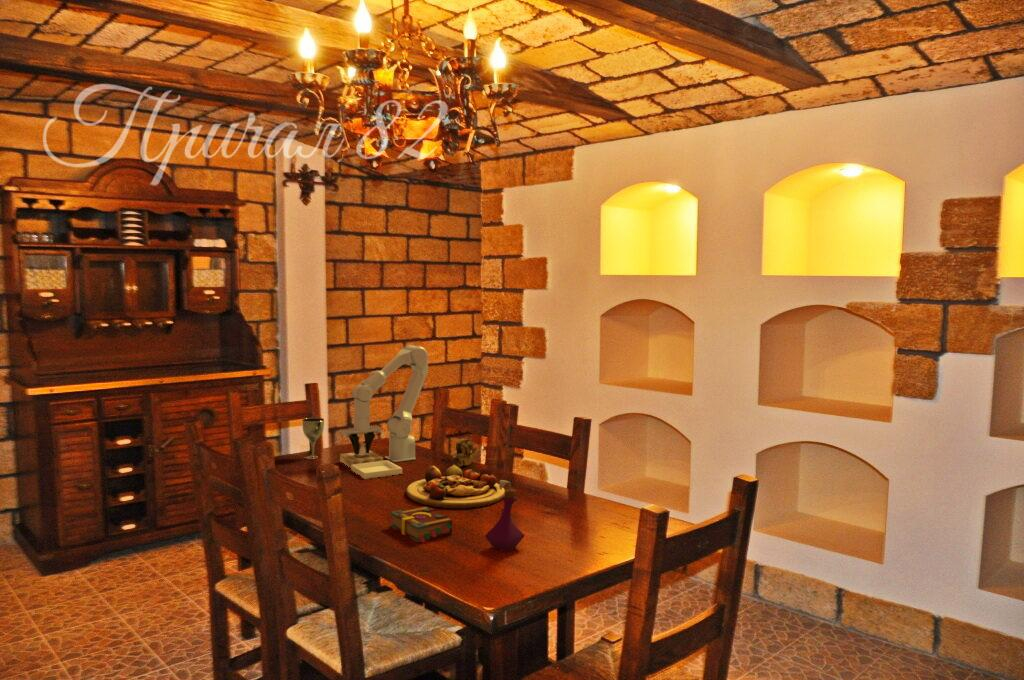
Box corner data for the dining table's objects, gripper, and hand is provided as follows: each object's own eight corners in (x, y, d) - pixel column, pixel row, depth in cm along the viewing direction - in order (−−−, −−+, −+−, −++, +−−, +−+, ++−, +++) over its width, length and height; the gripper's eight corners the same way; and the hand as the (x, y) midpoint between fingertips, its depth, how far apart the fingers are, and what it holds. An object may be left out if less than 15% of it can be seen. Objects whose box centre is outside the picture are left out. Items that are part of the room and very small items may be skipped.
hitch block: (370, 458, 280) (370, 450, 280) (383, 465, 270) (383, 457, 270) (340, 462, 274) (340, 454, 273) (352, 469, 264) (352, 461, 263)
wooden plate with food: (459, 517, 215) (460, 490, 214) (385, 494, 234) (386, 469, 234) (524, 496, 240) (525, 471, 239) (452, 477, 259) (453, 454, 259)
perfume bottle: (502, 540, 196) (504, 474, 194) (524, 547, 191) (526, 480, 189) (484, 548, 190) (485, 480, 188) (506, 555, 185) (508, 485, 184)
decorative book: (425, 520, 211) (425, 503, 211) (455, 536, 198) (455, 518, 198) (389, 527, 204) (390, 510, 204) (418, 545, 192) (419, 526, 191)
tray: (387, 466, 269) (387, 460, 269) (402, 474, 259) (402, 468, 258) (350, 470, 262) (350, 464, 262) (364, 479, 251) (364, 473, 251)
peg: (364, 462, 274) (364, 440, 274) (367, 464, 271) (368, 442, 271) (355, 463, 272) (355, 441, 272) (358, 465, 269) (358, 443, 269)
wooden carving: (463, 471, 265) (463, 444, 264) (451, 470, 266) (451, 443, 265) (478, 461, 280) (479, 435, 280) (467, 459, 282) (468, 434, 281)
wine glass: (328, 458, 279) (328, 419, 278) (312, 462, 272) (312, 422, 271) (313, 454, 283) (313, 416, 282) (297, 458, 277) (297, 419, 275)
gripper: (375, 413, 278) (375, 448, 279) (339, 416, 270) (338, 453, 271) (383, 416, 272) (383, 452, 273) (346, 420, 264) (345, 457, 265)
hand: (361, 453), depth 272 cm, fingers closed on peg, 4 cm apart
